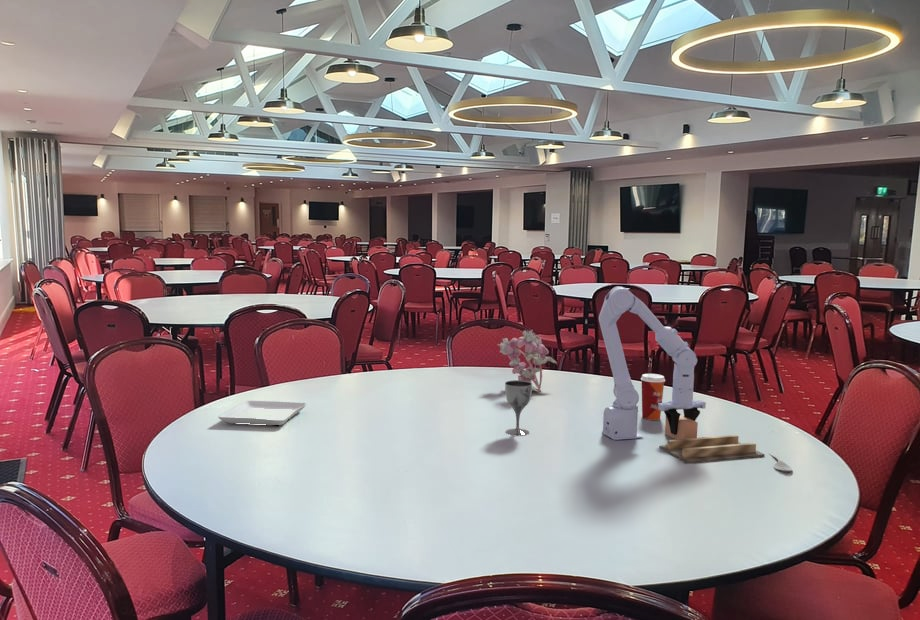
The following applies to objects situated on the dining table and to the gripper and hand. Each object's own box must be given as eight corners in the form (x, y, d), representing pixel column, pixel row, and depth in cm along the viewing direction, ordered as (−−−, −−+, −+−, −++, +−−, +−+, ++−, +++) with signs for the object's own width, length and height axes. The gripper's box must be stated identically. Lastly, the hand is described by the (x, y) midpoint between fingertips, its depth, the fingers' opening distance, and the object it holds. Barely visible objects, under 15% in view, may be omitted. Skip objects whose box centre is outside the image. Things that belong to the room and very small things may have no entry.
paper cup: (658, 422, 207) (660, 379, 205) (635, 418, 211) (637, 376, 210) (667, 417, 213) (669, 375, 211) (644, 413, 217) (646, 372, 216)
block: (696, 442, 187) (697, 422, 186) (684, 443, 186) (685, 423, 185) (676, 432, 196) (677, 413, 196) (664, 433, 195) (665, 413, 195)
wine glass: (499, 433, 193) (500, 384, 192) (510, 426, 200) (511, 379, 199) (524, 437, 190) (525, 387, 188) (534, 430, 197) (535, 382, 195)
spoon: (777, 475, 163) (777, 468, 163) (761, 449, 183) (761, 443, 183) (795, 476, 162) (795, 470, 162) (777, 450, 182) (777, 445, 182)
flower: (575, 383, 252) (553, 324, 257) (551, 389, 233) (528, 324, 238) (531, 399, 262) (511, 341, 267) (505, 406, 243) (484, 343, 248)
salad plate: (307, 411, 217) (307, 401, 216) (284, 430, 196) (284, 419, 195) (246, 409, 219) (246, 399, 218) (217, 427, 198) (216, 416, 197)
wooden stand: (686, 463, 170) (687, 453, 169) (659, 447, 182) (659, 437, 182) (764, 456, 176) (765, 446, 175) (732, 441, 188) (733, 432, 188)
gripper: (668, 392, 184) (666, 439, 185) (713, 389, 187) (710, 435, 189) (655, 386, 190) (653, 431, 192) (698, 384, 194) (695, 428, 196)
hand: (680, 433), depth 191 cm, fingers closed on block, 4 cm apart
